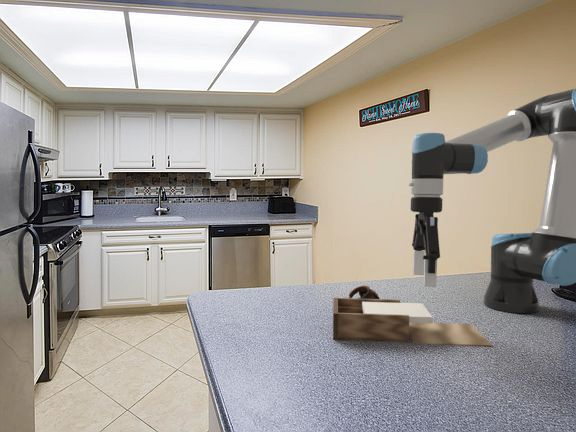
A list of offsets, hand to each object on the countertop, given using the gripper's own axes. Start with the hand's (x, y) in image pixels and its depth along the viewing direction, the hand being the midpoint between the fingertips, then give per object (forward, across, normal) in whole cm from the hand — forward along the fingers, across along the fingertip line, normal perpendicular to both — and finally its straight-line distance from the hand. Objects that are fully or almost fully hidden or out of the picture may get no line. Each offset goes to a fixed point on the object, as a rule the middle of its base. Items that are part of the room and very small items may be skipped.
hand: (423, 280), depth 104 cm
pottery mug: (+14, -20, -13) cm, 28 cm away
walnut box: (+14, 0, -14) cm, 19 cm away
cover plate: (+9, 0, -7) cm, 11 cm away
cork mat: (+14, 0, +6) cm, 15 cm away
